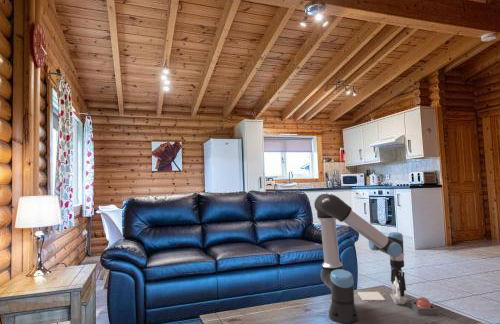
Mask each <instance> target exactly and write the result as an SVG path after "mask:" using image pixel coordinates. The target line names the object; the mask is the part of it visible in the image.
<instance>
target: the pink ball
mask: <svg viewBox="0 0 500 324" xmlns="http://www.w3.org/2000/svg"><path fill="white" fill-rule="evenodd" d="M415 302H416V306H417V307H419V308H431V304H432V303H431V302H430V300H429V299H428V298H427V297H423V296H422V297H419V298H417V300H416V301H415ZM430 303H431V304H430Z"/></svg>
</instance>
